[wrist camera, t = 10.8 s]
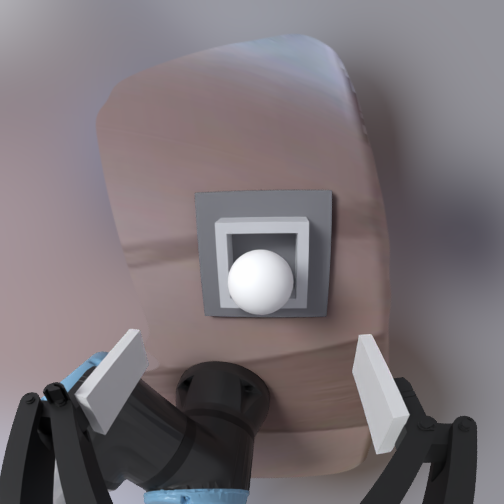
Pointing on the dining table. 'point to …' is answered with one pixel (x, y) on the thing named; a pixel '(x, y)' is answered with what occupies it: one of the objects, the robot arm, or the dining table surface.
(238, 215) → the lamp socket
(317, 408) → the dining table surface
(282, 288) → the lightbulb
